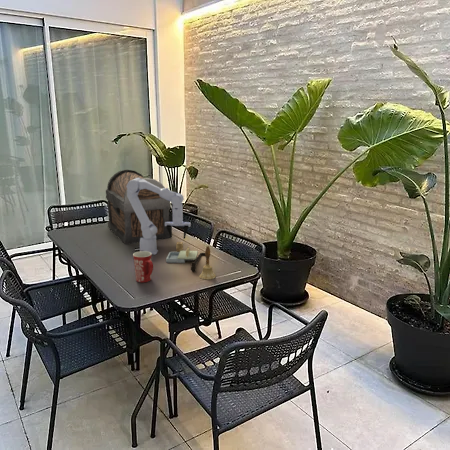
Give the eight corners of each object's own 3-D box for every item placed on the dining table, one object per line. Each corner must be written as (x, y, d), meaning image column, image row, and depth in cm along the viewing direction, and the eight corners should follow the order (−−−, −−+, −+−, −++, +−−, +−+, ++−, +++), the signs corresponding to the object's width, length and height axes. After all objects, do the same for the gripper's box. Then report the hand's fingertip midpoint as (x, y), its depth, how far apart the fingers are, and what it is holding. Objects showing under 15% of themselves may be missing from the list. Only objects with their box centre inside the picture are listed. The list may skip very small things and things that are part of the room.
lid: (177, 258, 228) (177, 252, 227) (180, 251, 239) (180, 245, 238) (195, 259, 227) (195, 252, 226) (197, 252, 239) (197, 246, 238)
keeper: (185, 261, 231) (185, 259, 231) (187, 257, 237) (187, 255, 236) (193, 261, 231) (193, 259, 231) (194, 257, 237) (194, 255, 236)
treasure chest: (107, 226, 295) (103, 170, 284) (149, 222, 310) (148, 168, 299) (125, 244, 257) (122, 180, 247) (172, 238, 272) (171, 177, 261)
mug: (130, 279, 205) (129, 253, 202) (146, 274, 211) (146, 249, 207) (143, 287, 196) (142, 260, 192) (159, 282, 202) (159, 256, 198)
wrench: (208, 258, 242) (199, 274, 213) (200, 258, 243) (190, 274, 213) (208, 249, 241) (199, 264, 212) (199, 249, 242) (189, 264, 212)
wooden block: (176, 254, 242) (176, 243, 240) (177, 252, 245) (176, 241, 244) (182, 254, 242) (182, 243, 240) (183, 252, 245) (182, 241, 244)
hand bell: (197, 274, 213) (197, 244, 209) (213, 272, 215) (213, 243, 211) (201, 280, 205) (201, 249, 201) (217, 279, 208) (218, 248, 203)
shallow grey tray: (166, 262, 228) (166, 258, 228) (169, 255, 240) (169, 251, 239) (184, 263, 228) (184, 259, 228) (187, 255, 240) (187, 252, 239)
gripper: (163, 216, 232) (164, 239, 235) (189, 217, 231) (189, 240, 235) (165, 213, 239) (166, 236, 242) (191, 214, 238) (191, 236, 242)
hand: (177, 238), depth 239 cm, fingers open, 7 cm apart
